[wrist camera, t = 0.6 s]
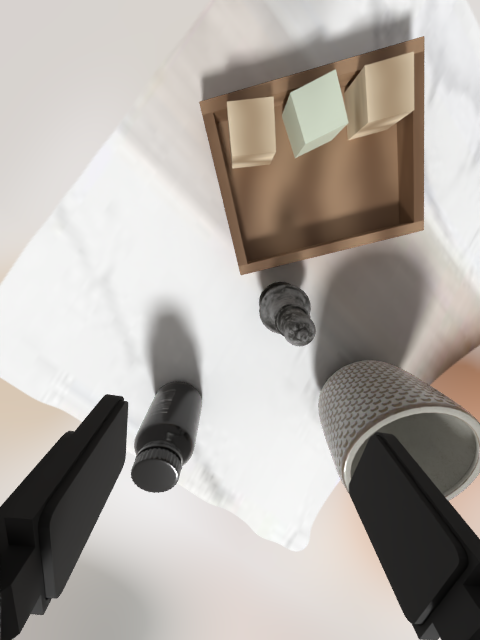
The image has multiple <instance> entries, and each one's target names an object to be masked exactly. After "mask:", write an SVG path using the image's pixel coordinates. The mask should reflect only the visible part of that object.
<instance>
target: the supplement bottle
mask: <svg viewBox="0 0 480 640" xmlns="http://www.w3.org/2000/svg"><path fill="white" fill-rule="evenodd" d="M201 407H202V399H201V396H200V394H199V392H198V391H197V390H196V389H195V388H194V387H193V386H191V385H189V384H187V383H184V382H171V383H168V384H166V385H164V386H163V387H161V388H160V389H159V390H158V392H157V394H156V396H155V397H154V399H153V402H152V404H151V406H150V408H149V410H148V412H147V414H146V416H145V418H144V420H143V422H142V424H141V426H140V429H139V431H138V433H137V435H136V438H135V442H134V448H135V453H136V455H137V456H136V459H135V462H134V465H133V467H132V472H131V478H132V479H133V481H134V483H135V484H136V485H137V486H138V487H140V488H141V489H143V490H145V491H148V492H154V493H155V492H158V493H159V492H164V491H167V490H169V489H171V488H172V487H174V485H176V483H177V481H178V479H179V475H180V471H181V469H182V466H183V465H184V464H185V463H186V462H187V461H188V460H189V459H190V458H191V456H192V454H193V451H194V447H195V442H196V436H197V430H198V425H199V419H200V413H201Z"/></svg>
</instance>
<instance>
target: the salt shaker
mask: <svg viewBox="0 0 480 640" xmlns="http://www.w3.org/2000/svg"><path fill="white" fill-rule="evenodd" d="M259 306H260V310H259V312H260V318H261V320H262V322H263V324H264V325H265V326H266V327H267V328H268V329H269V330H271V331H272V332H275V333H278V334H281V335H283V336H285V338H286V340H287V341H288V342H289V343H291V344H292V345H295V346H304V345H307V344H309V343H310V342H311V341H312V340H313V338H314V336H315V332H316V330H315V325H314V323H313V322H312V320H311V319H310V310H311V308H310V301H309V299H308V296H307V295H306V294H305V292H304V291H303V290H301V289H300V288H298V287H296V286H293V285H291V284H288V283H285V282H277V283H273V284H271V285H269V286H268V287H267V288H265V289H264V291H263V292H262V294H261V296H260V300H259Z"/></svg>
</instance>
